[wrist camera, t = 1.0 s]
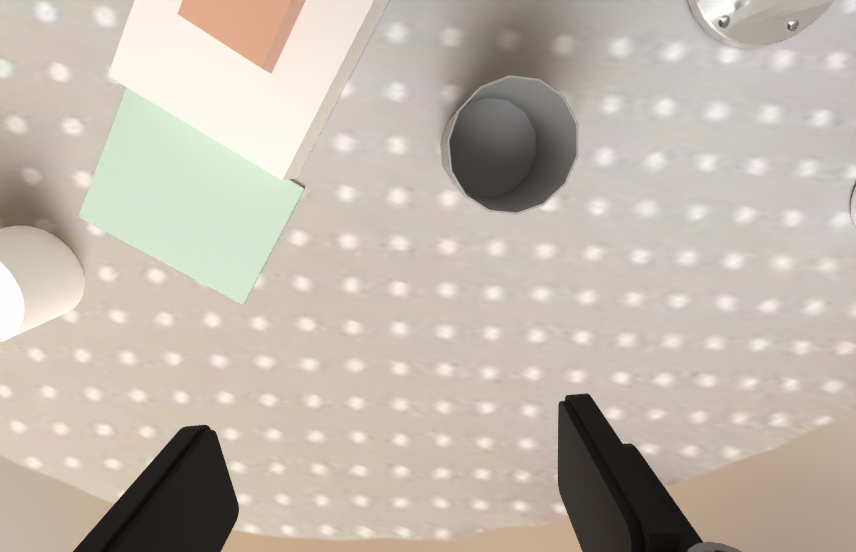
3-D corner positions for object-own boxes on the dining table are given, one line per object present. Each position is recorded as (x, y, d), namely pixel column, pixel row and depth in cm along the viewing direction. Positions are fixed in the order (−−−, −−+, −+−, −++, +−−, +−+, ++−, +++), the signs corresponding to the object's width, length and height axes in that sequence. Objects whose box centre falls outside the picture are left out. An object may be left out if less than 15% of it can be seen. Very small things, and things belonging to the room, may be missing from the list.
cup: (457, 210, 36) (469, 231, 27) (426, 119, 34) (428, 106, 24) (546, 178, 35) (592, 187, 26) (521, 82, 33) (562, 54, 23)
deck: (222, -120, 29) (192, -162, 25) (389, 0, 31) (384, -21, 27) (144, 84, 33) (107, 76, 29) (297, 177, 35) (282, 180, 31)
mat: (130, 83, 33) (128, 82, 32) (305, 188, 35) (304, 188, 35) (81, 216, 36) (78, 217, 35) (244, 303, 38) (242, 304, 38)
